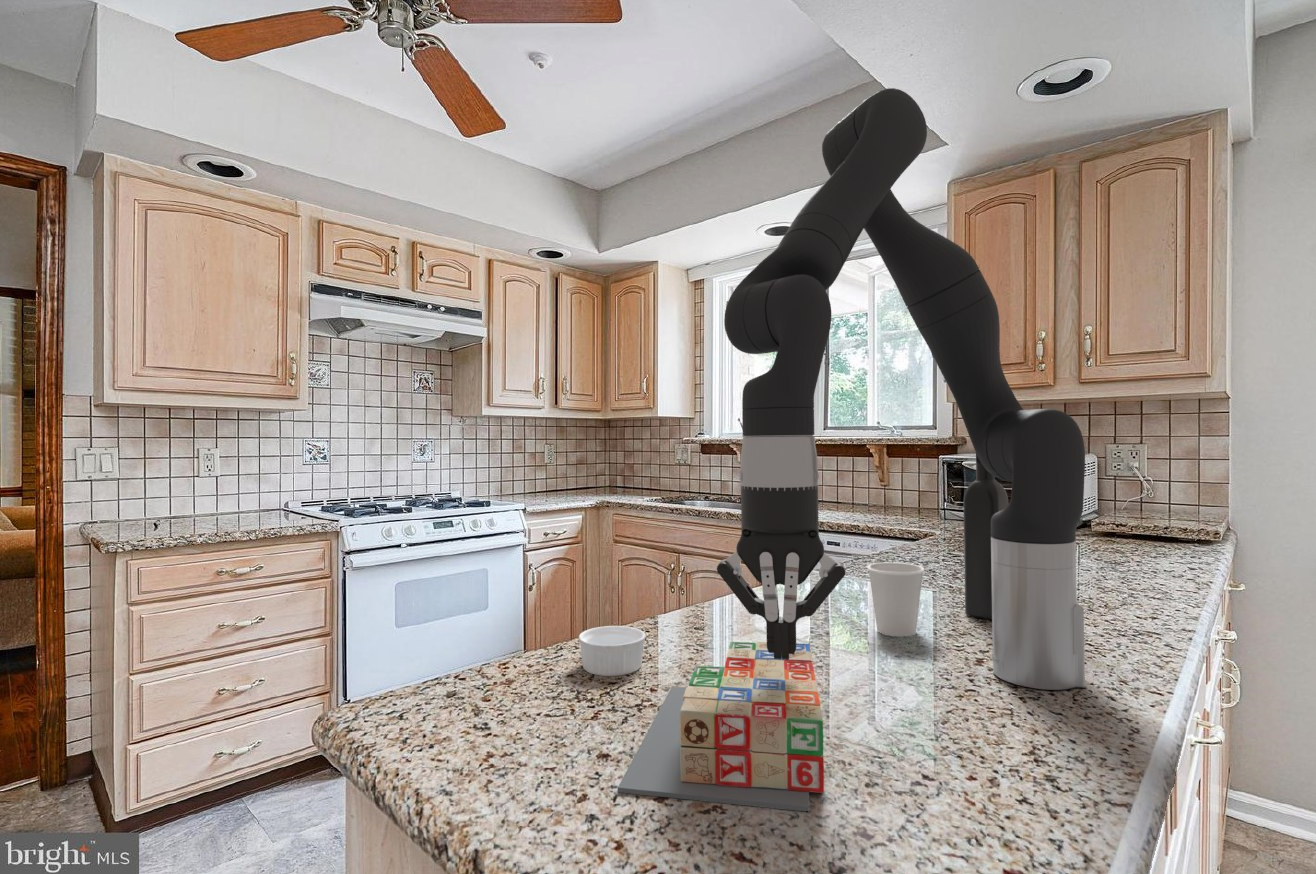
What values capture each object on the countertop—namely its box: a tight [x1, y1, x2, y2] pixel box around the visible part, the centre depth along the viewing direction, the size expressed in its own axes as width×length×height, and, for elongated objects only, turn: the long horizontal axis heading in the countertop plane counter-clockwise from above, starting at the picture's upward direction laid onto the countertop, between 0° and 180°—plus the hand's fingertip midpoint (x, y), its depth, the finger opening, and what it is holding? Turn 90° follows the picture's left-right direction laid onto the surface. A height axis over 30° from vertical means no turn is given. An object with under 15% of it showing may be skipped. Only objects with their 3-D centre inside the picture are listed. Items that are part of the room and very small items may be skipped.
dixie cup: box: [866, 561, 925, 637], centre depth 104 cm, size 8×8×10 cm
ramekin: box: [578, 625, 646, 677], centre depth 90 cm, size 9×9×4 cm
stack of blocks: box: [680, 641, 825, 794], centre depth 67 cm, size 21×6×12 cm
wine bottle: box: [962, 453, 1009, 621], centre depth 112 cm, size 6×6×30 cm
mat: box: [617, 686, 810, 813], centre depth 67 cm, size 16×24×1 cm, turn 168°
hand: (781, 657), depth 66 cm, fingers closed
